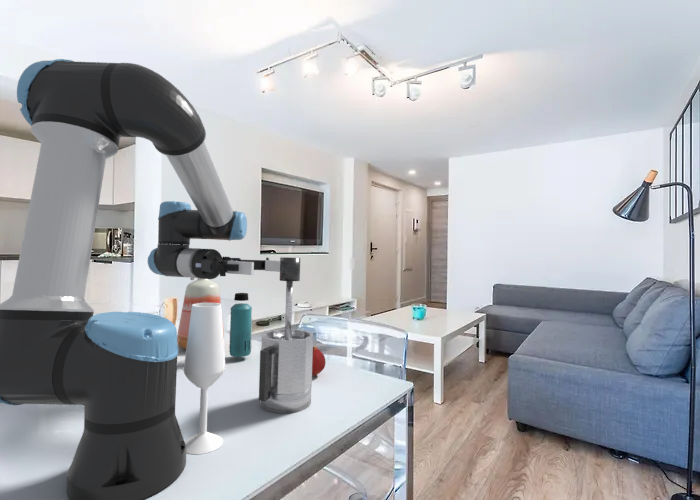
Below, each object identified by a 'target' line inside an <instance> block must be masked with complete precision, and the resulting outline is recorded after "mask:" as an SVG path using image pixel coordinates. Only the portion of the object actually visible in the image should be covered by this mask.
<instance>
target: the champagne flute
mask: <svg viewBox="0 0 700 500" xmlns="http://www.w3.org/2000/svg"><path fill="white" fill-rule="evenodd" d="M222 318H223V310H222V303H221V304H220V303H197V304H193V305H192V308H191V316H190V324H189V332H188V339H187V347H186V350H185V356H184V365H183V373H184V376H185V377H186V379H188V381H189V382H190V383H192V384H193V385H194V386H195V387H197V388H199V389H200V398H199V400H200V402H199V403H200V404H199V432H198V433H196V434H194V435H193V436H191V437H189V438H188V439H186V440H184V442H185V445H186V454H189V455H203V454H208V453H211V452H213V451H215V450H217V449H219V448H220V447H221V446H222V445H223V442H224V439H223V437H221V436H220V435H218V434H215V433H212V432H209V431H208V428H207V427H208V403H209V402H208V397H209V396H208V395H209V394H208V393H209V392H208V391H209V387H211V386H213V385H214V384H215V383H216V382H217V381H218V380H219V379H220V378H221V377H222V375H223V373H224V371H225V369H226V357H225V356H226V355H225V340H224V339H225V337H224V338H223V328H224V322H223V323H222Z"/></svg>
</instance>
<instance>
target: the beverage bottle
mask: <svg viewBox="0 0 700 500" xmlns="http://www.w3.org/2000/svg"><path fill="white" fill-rule="evenodd" d="M233 300H234V301H237V302H245V301H249V293H247V292H236V293H235V294H234V298H233ZM252 311H253V307H252V306H251V305H250V304H249V303H235V304H233V305H232V306H231V307H230V322H229V324H230V327H229V342H228V343H229V344H228V345H229V346H228V349H229V351H228V352H229V355H230V356H231V357H234V358H235V357H237V358H241V357H248V356H250V355H251V353H252V324H253V319H252V314H253V313H252Z"/></svg>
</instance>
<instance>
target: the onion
mask: <svg viewBox="0 0 700 500" xmlns="http://www.w3.org/2000/svg"><path fill="white" fill-rule="evenodd" d="M325 367H326V357H325V355H324V353H323V352H322V351H321V350H320V349H319V348H318V347H317V346H316V345H315V346H314V345H313V358H312V377H316V376H318V375H319V374H320V373H322V371H323V370H324V369H325Z"/></svg>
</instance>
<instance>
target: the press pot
mask: <svg viewBox="0 0 700 500" xmlns="http://www.w3.org/2000/svg"><path fill="white" fill-rule="evenodd" d="M277 338H285V328H282V329H273V330H269V331H266V332H263V333H262V335H261V344H260V345H261V349H260V351H259V352H260V353H259V377H258V378H259V383H258V401H259V402H260V403H259V404H260V407H261V408H262V409H263V410H265V411H266V412H270V413H274V414H293V413H298V412H301V411H303V410H306V409H307V408H309V407H310V405H311V404H312V383H313V382H312V381H313V375H312V358H313V347H314V333H313V332H311V331H308V330H304V329H297V328H295V329H294V328H291V338H300V339H297V340H277Z"/></svg>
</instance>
